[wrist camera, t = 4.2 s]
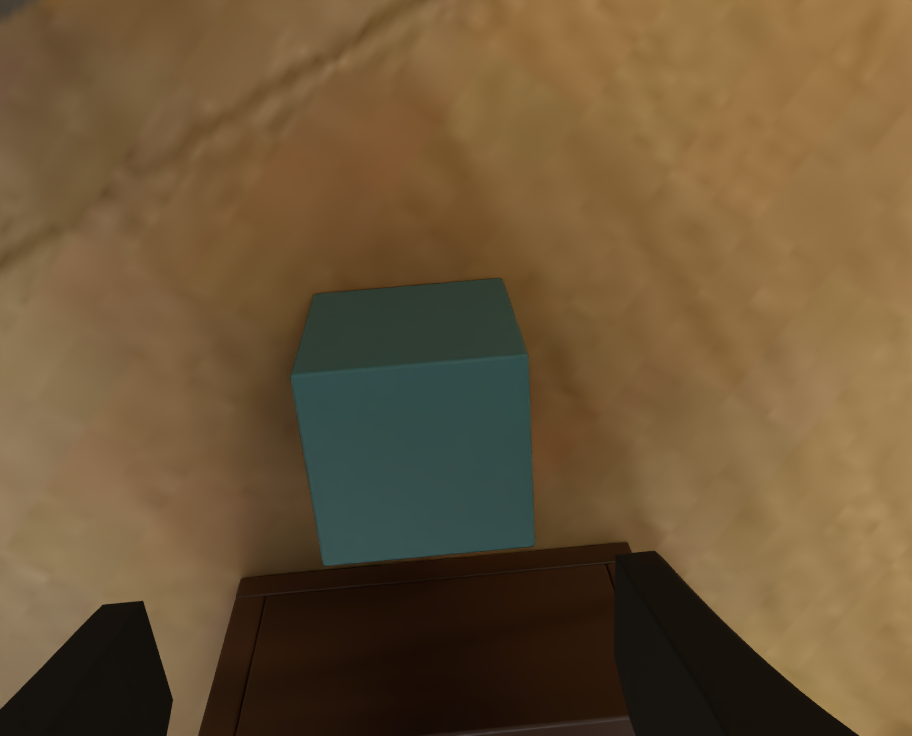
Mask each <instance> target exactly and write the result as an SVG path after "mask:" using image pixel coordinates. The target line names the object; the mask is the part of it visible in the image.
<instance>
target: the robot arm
mask: <svg viewBox="0 0 912 736" xmlns="http://www.w3.org/2000/svg"><path fill="white" fill-rule="evenodd" d="M614 658H615V662H616V666H617V670H618V675H619V679H620V683H621V687H622V691H623V695H624V699H625V703H626V707H627V711H628V715H629V719H630V722H631V724H632V727H633V730H634V733H635V735H636V736H859V735H857V734H856V733H855V732H853V731H852V730H851V729H849V728H848V727H847V726H845V725H844V724H843V723H841V722H840V721H838V720H837V719H836V718H834V717H833V716H832V715H830V714H829V713H828V712H826V711H825V710H824V709H822V708H821V707H820V706H819V705H817V704H816V703H815V702H814V701H812V700H811V699H810V698H809V697H807V696H806V695H805V694H804V693H802V692H801V691H800V690H799V689H798V688H796V687H795V686H794V685H793V684H792V683H791V682H789V681H788V680H787V679H786V678H785V677H784V676H782V675H781V674H780V673H779V672H778V671H776V670H775V669H774V668H773V667H772V666H771V665H770V664H768V663H767V662H766V661H765V660H764V659H763V658H762V657H761V656H760V655H758V654H757V653H756V652H755V651H754V650H753V649H752V648H751V647H750V646H749V645H748V644H747V643H746V642H745V641H743V640H742V639H741V638H740V637H739V636H738V635H737V634H736V633H735V632H734V631H733V630H732V629H731V628H730V627H729V626H728V625H727V624H726V623H725V622H724V621H723V620H722V619H720V618H719V617H718V616H717V615H716V614H715V613H714V612H713V611H712V610H711V609H710V608H709V606H708V605H707V604H706V603H705V602H704V601H703V600H702V599H701V598H700V597H699V596H698V595H697V594H696V593H695V592H694V591H693V590H692V589H691V588H690V587H689V586H688V585H687V584H686V583H685V581H684V580H683V579H682V578H681V577H680V576H679V575H678V574H677V573H676V572H675V571H674V570H673V569H672V567H671V566H670V565H669V564H668V563H667V562H666V561H665V560H664V559H663V558H662V557H661V556H660V555H659V554H658V553H657V552H656V551H647V552H637V553H627V554H617V555H615V612H614ZM172 703H173V698H172V695H171V692H170V688H169V685H168V682H167V678H166V675H165V672H164V669H163V665H162V662H161V659H160V655H159V652H158V649H157V645H156V642H155V639H154V635H153V632H152V629H151V625H150V622H149V619H148V616H147V612H146V609H145V606H144V602H143V601H136V602H126V603H116V604H105V605H102V606H101V607H100V608H99V609H98V610H97V611H96V612H95V613H94V614H93V615H92V616H91V617H90V618H89V619H88V620H87V621H86V622H85V623H84V624H83V625H82V626H81V627H80V628H79V629H78V630H77V631H76V632H75V633H74V634H73V635H72V636H71V637H70V638H69V639H68V641H67V642H66V643H65V644H64V645H63V646H62V647H61V648H60V649H59V650H58V651H57V652H56V653H55V654H54V655H53V656H52V657H51V658H50V659H49V660H48V661H47V662H46V664H45V665H44V666H43V667H42V668H41V669H40V670H39V671H38V672H37V673H36V674H35V675H34V676H33V677H32V678H31V679H30V680H29V681H28V682H27V683H26V684H25V685H24V686H23V687H22V688H21V689H20V690H19V691H18V692H17V693H16V694H15V695H14V696H13V697H12V698H11V699H10V700H9V701H8V702H7V703H6V704H5V705H4V706H3V707H2V708H1V709H0V736H167V730H168V725H169V719H170V714H171V708H172Z"/></svg>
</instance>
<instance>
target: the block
mask: <svg viewBox="0 0 912 736" xmlns="http://www.w3.org/2000/svg"><path fill="white" fill-rule="evenodd" d="M290 379H291V385H292V390H293V396H294V402H295V408H296V413H297V419H298V425H299V431H300V437H301V442H302V448H303V454H304V460H305V466H306V471H307V477H308V483H309V489H310V494H311V500H312V506H313V512H314V518H315V523H316V529H317V535H318V541H319V546H320V552H321V558H322V563H323V565H324V566H332V565H343V564H354V563H364V562H375V561H386V560H396V559H407V558H418V557H428V556H439V555H450V554H460V553H471V552H482V551H492V550H503V549H514V548H524V547H533V546H534V544H535V525H534V496H533V467H532V439H531V410H530V381H529V356H528V353H527V350H526V347H525V344H524V341H523V338H522V335H521V332H520V329H519V326H518V323H517V320H516V317H515V315H514V312H513V309H512V306H511V303H510V300H509V297H508V294H507V291H506V288H505V285H504V282H503V280H502V279H501V278H496V279H484V280H472V281H461V282H449V283H437V284H426V285H414V286H402V287H391V288H379V289H367V290H356V291H344V292H332V293H321V294H315V295H313V299H312V302H311V306H310V309H309V313H308V316H307V320H306V323H305V327H304V330H303V334H302V337H301V341H300V344H299V348H298V351H297V355H296V358H295V362H294V365H293V369H292V372H291V376H290Z"/></svg>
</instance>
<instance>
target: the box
mask: <svg viewBox="0 0 912 736" xmlns="http://www.w3.org/2000/svg"><path fill="white" fill-rule="evenodd" d="M627 553H632V551H631V549H630V546H629V544H628V543H627V542H624V543H613V544H603V545H592V546H581V547H571V548H560V549H549V550H539V551H528V552H517V553H507V554H496V555H485V556H475V557H464V558H453V559H443V560H432V561H421V562H411V563H400V564H390V565H379V566H368V567H358V568H347V569H336V570H326V571H315V572H304V573H294V574H283V575H272V576H262V577H251V578H242V579H241V580H240V583H239V587H238V591H237V594H236V600H235V602H234V606H233V610H232V613H231V617H230V621H229V624H228V628H227V632H226V635H225V639H224V643H223V646H222V650H221V654H220V658H219V661H218V665H217V669H216V672H215V676H214V680H213V683H212V687H211V691H210V694H209V698H208V702H207V705H206V709H205V713H204V716H203V720H202V724H201V727H200V731H199V735H198V736H636V735H635V733H634V730H633V727H632V724H631V722H630V719H629V715H628V711H627V707H626V703H625V699H624V695H623V691H622V687H621V683H620V679H619V675H618V670H617V666H616V662H615V658H614V612H615V555H617V554H627Z"/></svg>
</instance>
